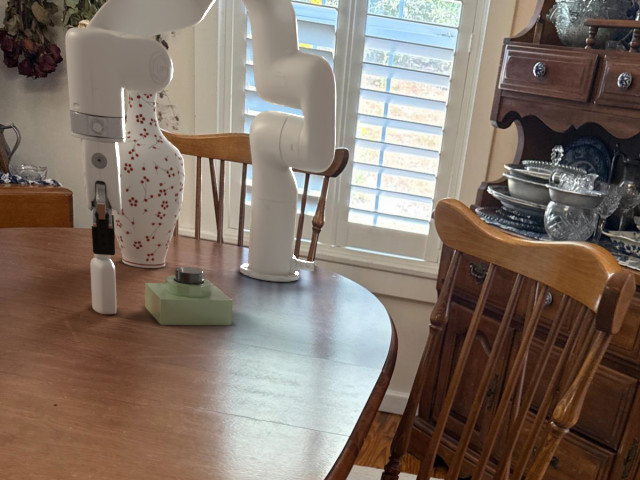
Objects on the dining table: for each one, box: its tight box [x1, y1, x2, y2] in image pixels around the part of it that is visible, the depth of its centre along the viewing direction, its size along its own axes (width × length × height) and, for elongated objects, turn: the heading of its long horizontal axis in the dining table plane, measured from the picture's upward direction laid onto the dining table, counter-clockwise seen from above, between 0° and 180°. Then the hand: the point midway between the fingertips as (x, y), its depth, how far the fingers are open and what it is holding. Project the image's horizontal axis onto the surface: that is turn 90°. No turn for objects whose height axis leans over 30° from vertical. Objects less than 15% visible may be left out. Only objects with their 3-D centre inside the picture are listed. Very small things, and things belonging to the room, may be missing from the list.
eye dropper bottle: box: [89, 253, 117, 315], centre depth 125 cm, size 4×6×12 cm
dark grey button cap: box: [174, 266, 204, 285], centre depth 129 cm, size 4×4×2 cm
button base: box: [144, 274, 234, 326], centre depth 131 cm, size 12×10×6 cm
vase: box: [112, 90, 186, 269], centre depth 151 cm, size 16×16×35 cm
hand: (104, 246), depth 123 cm, fingers open, 9 cm apart
